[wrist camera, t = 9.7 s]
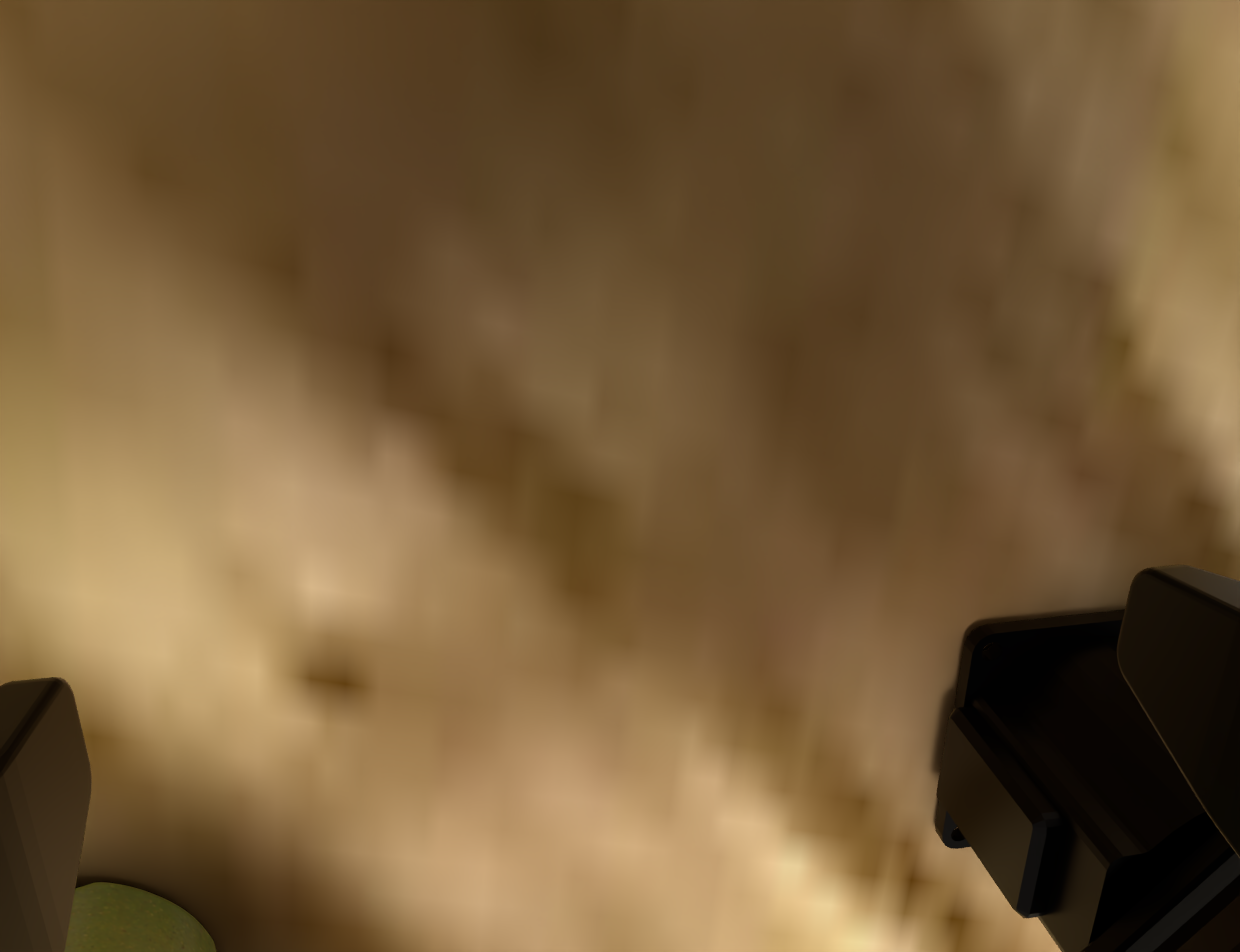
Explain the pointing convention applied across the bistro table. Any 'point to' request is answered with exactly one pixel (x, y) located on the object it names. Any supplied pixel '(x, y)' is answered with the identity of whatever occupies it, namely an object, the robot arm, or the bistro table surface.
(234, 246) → the bistro table surface
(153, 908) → the plant pot
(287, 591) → the bistro table surface
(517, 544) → the bistro table surface
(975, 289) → the bistro table surface
